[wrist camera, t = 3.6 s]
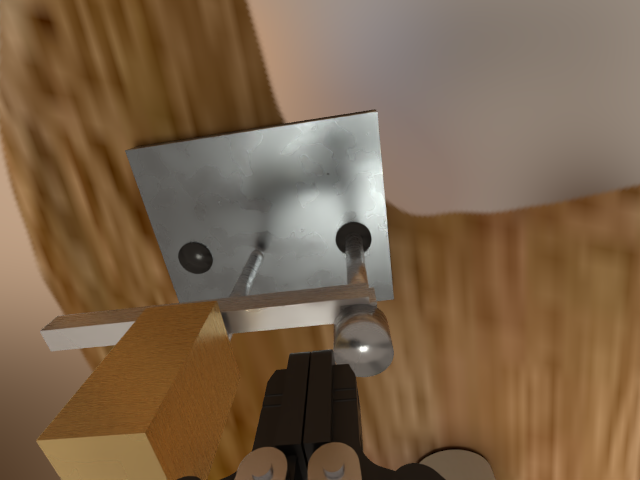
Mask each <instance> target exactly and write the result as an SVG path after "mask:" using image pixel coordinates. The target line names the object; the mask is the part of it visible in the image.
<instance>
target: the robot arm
mask: <svg viewBox="0 0 640 480" xmlns="http://www.w3.org/2000/svg"><path fill="white" fill-rule="evenodd" d="M262 406H263V408H262V410H261V414H260V419H259V423H258V427H257V432H256V436H255V441H254V445H253V449H252V452H251V453H250V454H248V455H247V456H246V457H245V458H244V459H243V461H242V462H241V464H240V466H239V468H238V470H237V471H236V472H235V473H234V474H232V475H230V476H228V477H226V478H223V479H221V480H446V479H445V478H443V477H442V476H441V475H440V474H439V473H438V472H437V471H435V470H434V469H433V468H431V467H429V466H427V465H424V464H419V463H411V464H406V465H404V466H402V467H400V468H399V469H398V470H397V471H393V470H390V469H386V468H383V467H380V466H378V465H376V464H374V463H373V462H371V461H370V460H369V459H368V458H367V457H366V456H365V454H364V453H363V440H362V426H361V413H360V403H359V396H358V389H357V382H356V375H355V373H354V371H353V370H352V368H351V367H350V365H349V364H338V365H336V364H335V358H334V353H333V350H321V351H312V353H311V352H300V353H291V354H290V355H289V360H288V366H287V369H282V370H276V371H275V372H274V374H273V375H272V377H271V378H270V379H269V381H268V383H267V387H266V392H265V397H264V401H263V405H262ZM177 480H201V479H200V478H198V477H196V476H185V477H182V478H179V479H177Z"/></svg>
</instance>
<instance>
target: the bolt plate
mask: <svg viewBox="0 0 640 480" xmlns="http://www.w3.org/2000/svg"><path fill="white" fill-rule="evenodd" d="M125 152H126V154H127V157H128V160H129V163H130V166H131V168H132V171H133V174H134V177H135V180H136V182H137V185H138V188H139V191H140V194H141V196H142V199H143V202H144V205H145V208H146V210H147V213H148V216H149V219H150V222H151V224H152V227H153V230H154V233H155V236H156V238H157V241H158V244H159V247H160V250H161V252H162V255H163V258H164V261H165V264H166V266H167V269H168V272H169V275H170V278H171V280H172V283H173V286H174V289H175V292H176V294H177V297H178V300H179V303H174V304H164V305H155V306H146V307H137V308H128V309H118V310H109V311H100V312H91V313H81V314H72V315H63V316H57V317H56V318H55V319H54V320H52V321H51V322H50V323H49V324H48V325H46V326H45V327H44V328H43V329H42V330H41V331H40V332H41V334H42V336H43V338H44V340H45V341H46V343H47V345H48V347H49V348H50V350H51V351H58V350H68V349H79V348H89V347H99V346H109V345H116V344H117V343H118V341H119V340H120V339H121V338H122V337H123V335H124V334H125V333H126V332H127V331H128V329H129V328H130V327H131V326H132V325H133V323H134V322H135V321H136V320H137V319H138V317H139V316H140V315H141V314H142V313H143V311H144V310H145V309H146V308H152V307H161V306H170V305H180V304H189V303H198V302H207V301H217V302H218V305H219V309H220V312H221V315H222V318H223V322H224V325H225V328H226V331H227V334H232V333H242V332H252V331H262V330H273V329H283V328H293V327H303V326H313V325H324V324H334V358H335V362H336V364H337V365H338V364H349V365H350V367H351V368H352V370H353V371H354V373H355V375H356V376H358V377H369V376H374V375H377V374H379V373H381V372H383V371H384V370H385V369H386V368H387V367H388V366H389V365H390V364H391V362H392V359H393V355H394V351H393V346H392V341H391V336H390V331H389V326H388V321H387V318H386V316H385V315H384V313H383V312H382V311H381V310H379V309H378V308H377V302H376V301H382V300H392V299H394V297H393V285H392V274H391V262H390V251H389V239H388V228H387V216H386V205H385V194H384V182H383V170H382V159H381V148H380V136H379V124H378V113H377V111H376V110H369V111H363V112H356V113H350V114H343V115H337V116H330V117H324V118H318V119H311V120H305V121H299V122H292V123H285V124H279V125H273V126H266V127H260V128H253V129H247V130H241V131H234V132H228V133H221V134H215V135H209V136H202V137H196V138H189V139H183V140H177V141H170V142H164V143H157V144H151V145H145V146H138V147H134V148H131V149H128V150H126V151H125ZM254 250H260V251H261V252H262V253H263V254H264V259H263V262H262V264H261V266H260V269H259V271H258V274H257V276H256V279H255V281H254V283H253V286H252V288H251V291H250V293H249V295H247V296H238V297H229V296H230V294H231V292H232V290H233V288H234V286H235V284H236V282H237V280H238V278H239V276H240V274H241V272H242V270H243V268H244V266H245V264H246V262H247V260H248V258H249V256H250V254H251V252H252V251H254Z"/></svg>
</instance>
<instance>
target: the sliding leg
mask: <svg viewBox="0 0 640 480" xmlns="http://www.w3.org/2000/svg"><path fill="white" fill-rule="evenodd" d="M263 259H264V254H263V253H262V252H261V251H260V250H254V251H252V252H251V254H250V256H249V258H248V260H247V262H246V264H245V266H244V268H243V270H242V272H241V274H240V276H239V278H238V280H237V282H236V284H235V286H234V288H233V290H232V292H231V294H230V296H229V297H238V296H247V295H249V293H250V291H251V288H252V286H253V283H254V281H255V279H256V276H257V274H258V271H259V269H260V266H261V264H262V262H263ZM232 334H233V333H232ZM232 334H227V331H226V328H225V325H224V322H223V318H222V315H221V312H220V309H219V305H218V302H217V301H207V302H198V303H189V304H180V305H170V306H161V307H152V308H146V309H145V310H144V311H143V313H142V314H141V315H140V316H139V317H138V319H137V320H136V321H135V322H134V323H133V325H132V326H131V327H130V328H129V329H128V331H127V332H126V333H125V334H124V335H123V337H122V338H121V339H120V340H119V341H118V343H117V344H116V345H115V346H114V347H113V349H112V350H111V351H110V352H109V353H108V355H107V356H106V357H105V358H104V360H103V361H102V362H101V363H100V364H99V366H98V367H97V368H96V369H95V370H94V372H93V373H92V374H91V375H90V376H89V378H88V379H87V380H86V381H85V382H84V384H83V385H82V386H81V387H80V389H79V390H78V391H77V392H76V393H75V395H74V396H73V397H72V398H71V399H70V401H69V402H68V403H67V404H66V405H65V406H64V408H63V409H62V410H61V411H60V413H59V414H58V415H57V416H56V417H55V418H54V420H53V421H52V422H51V423H50V424H49V426H48V427H47V428H46V429H45V431H44V432H43V433H42V434H41V435H40V436H39V438H38V439H37V440H36V441H37V443H38V444H39V446H40V447H41V449H42V451H43V452H44V454H45V455H46V457H47V458H48V460H49V461H50V463H51V464H52V466H53V467H54V469H55V471H56V472H57V474H58V475H59V477H60V478H61V479H62V480H177V479H179V478H182V477H185V476H196V477H198V478H200V479H201V480H207V478H208V475H209V472H210V469H211V466H212V463H213V460H214V457H215V454H216V451H217V448H218V445H219V442H220V439H221V436H222V433H223V429H224V426H225V423H226V420H227V417H228V414H229V411H230V408H231V405H232V402H233V399H234V396H235V393H236V390H237V387H238V384H239V380H240V373H239V370H238V367H237V364H236V360H235V357H234V354H233V351H232V347H231V344H230V339H231V337H232Z"/></svg>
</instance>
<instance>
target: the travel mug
mask: <svg viewBox="0 0 640 480" xmlns="http://www.w3.org/2000/svg"><path fill="white" fill-rule="evenodd" d="M419 464H424V465H427V466H429V467H431V468H433V469H434V470H435V471H437V472H438V473H439V474H440V475H441V476H442V477H443V478H445V479H446V480H496V479H495V477H494V474H493V471H492V469H491V466H490V464H489V463H488V462H487V461H486V460H485V459H484V458H483V457H482V456H480V455H478V454H476V453H473V452H470V451H465V450H445V451H441V452H437V453H434V454H432V455H430V456H428V457H426V458H425V459H423V460H422V461H421V462H420V463H419Z"/></svg>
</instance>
